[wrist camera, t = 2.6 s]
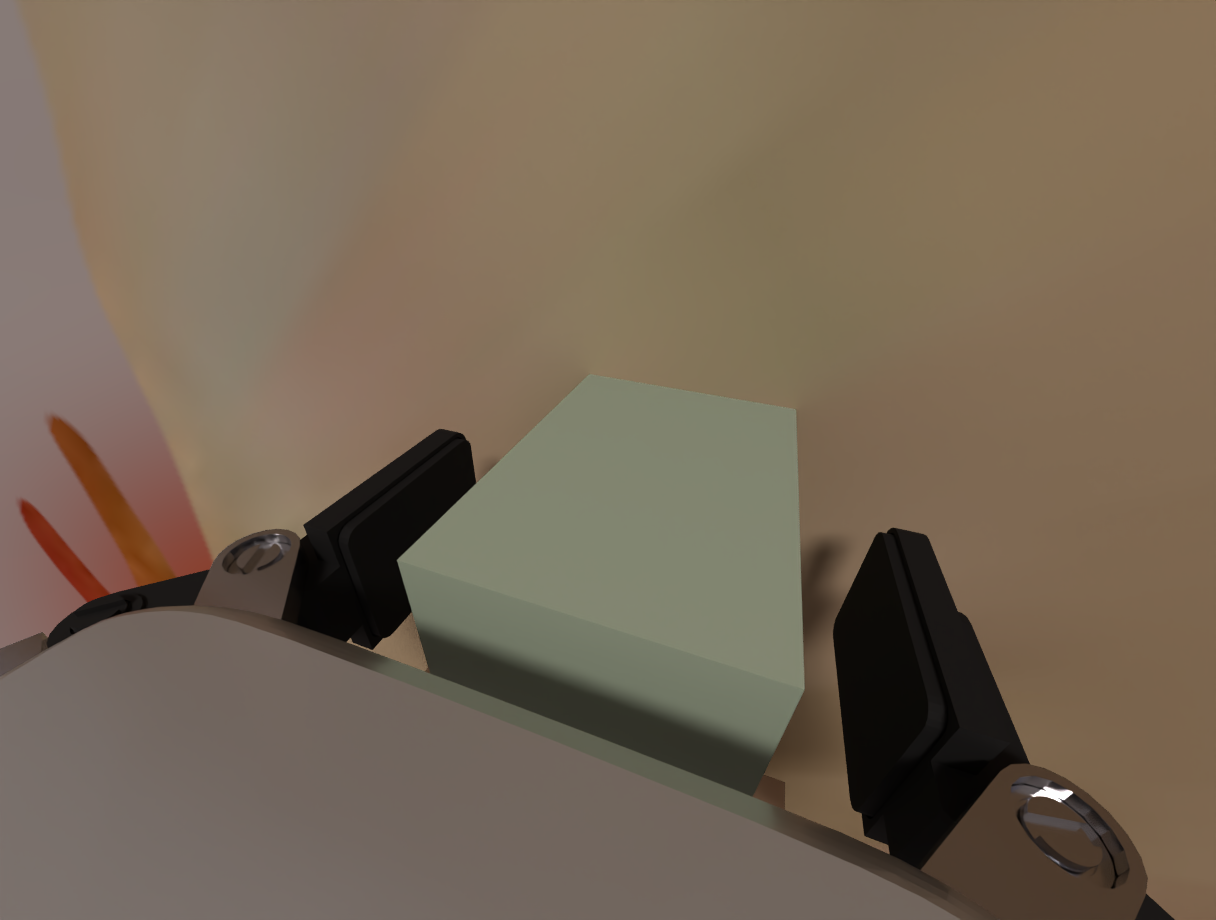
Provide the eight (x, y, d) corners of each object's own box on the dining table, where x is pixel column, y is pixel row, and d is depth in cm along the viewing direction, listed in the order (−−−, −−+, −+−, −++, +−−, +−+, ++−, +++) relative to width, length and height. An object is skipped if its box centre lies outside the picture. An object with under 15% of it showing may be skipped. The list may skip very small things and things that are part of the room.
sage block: (795, 408, 10) (804, 690, 5) (749, 566, 13) (718, 865, 7) (589, 373, 11) (396, 559, 6) (587, 524, 14) (453, 751, 9)
